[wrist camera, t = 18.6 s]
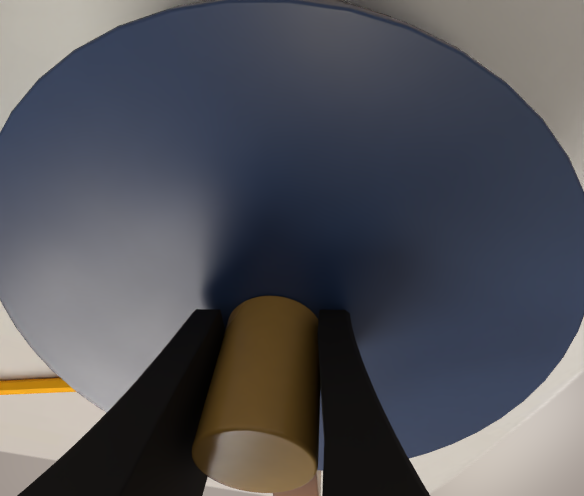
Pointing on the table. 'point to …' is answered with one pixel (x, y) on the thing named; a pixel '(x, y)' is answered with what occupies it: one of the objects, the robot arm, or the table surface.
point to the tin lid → (290, 224)
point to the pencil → (34, 386)
